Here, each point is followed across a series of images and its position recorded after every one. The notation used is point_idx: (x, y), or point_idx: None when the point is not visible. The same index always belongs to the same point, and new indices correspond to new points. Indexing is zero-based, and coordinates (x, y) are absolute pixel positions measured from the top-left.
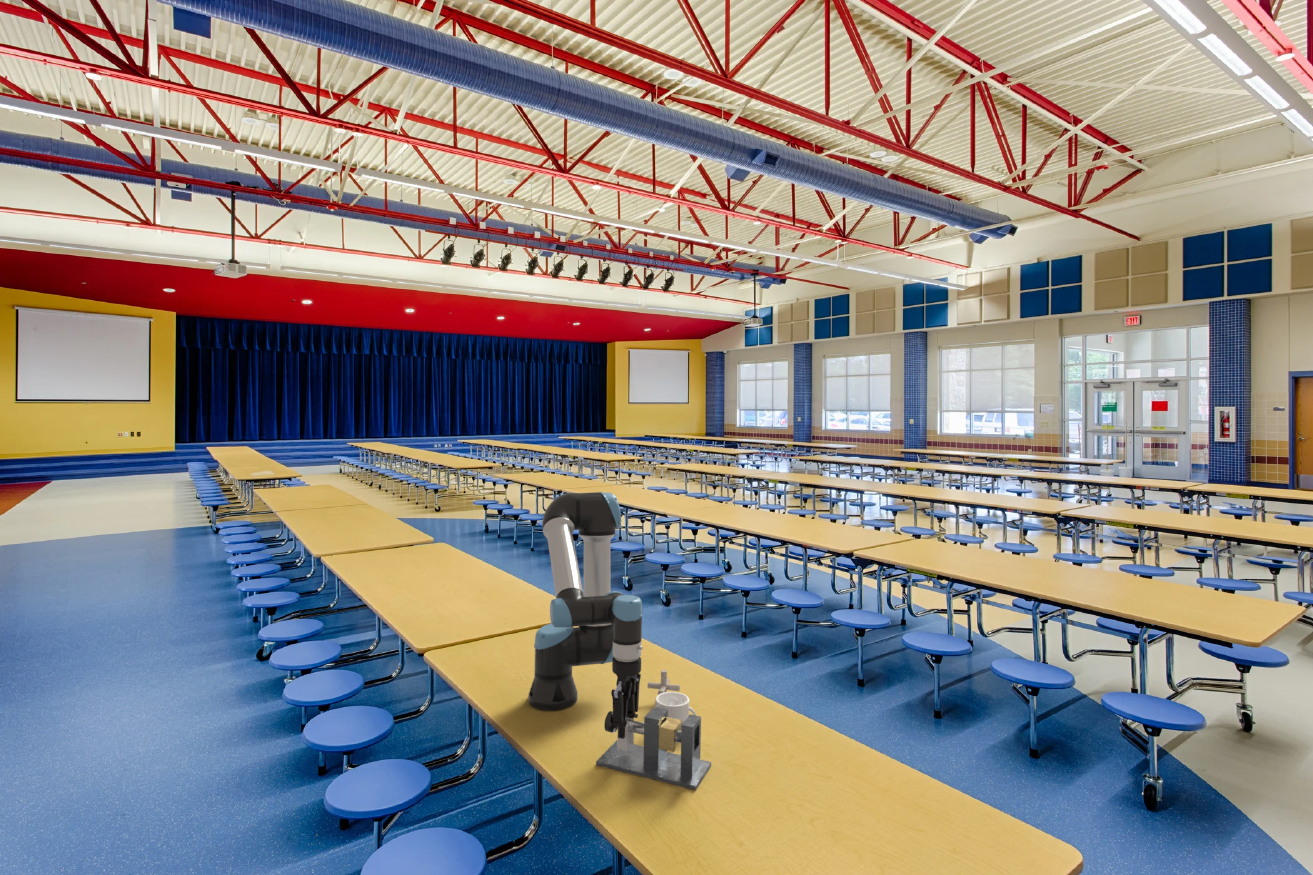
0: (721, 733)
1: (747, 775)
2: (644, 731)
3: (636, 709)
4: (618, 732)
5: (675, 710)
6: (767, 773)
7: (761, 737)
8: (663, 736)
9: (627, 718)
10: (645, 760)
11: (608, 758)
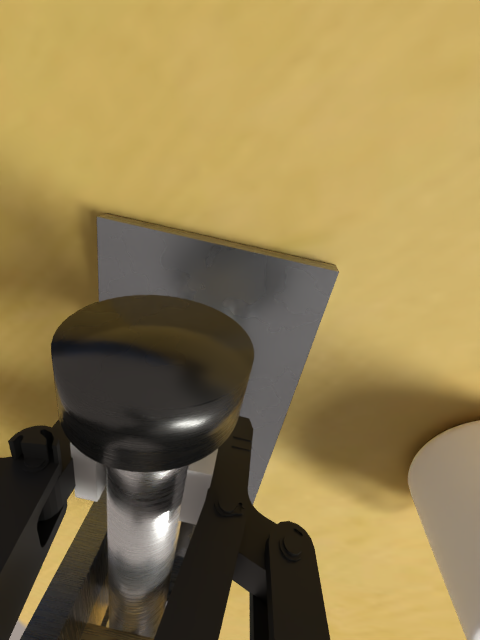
0: (435, 569)
1: None
2: (59, 566)
3: (251, 597)
4: None
5: (457, 613)
6: (234, 609)
7: (407, 624)
8: None
9: (189, 490)
10: None
11: (146, 271)
